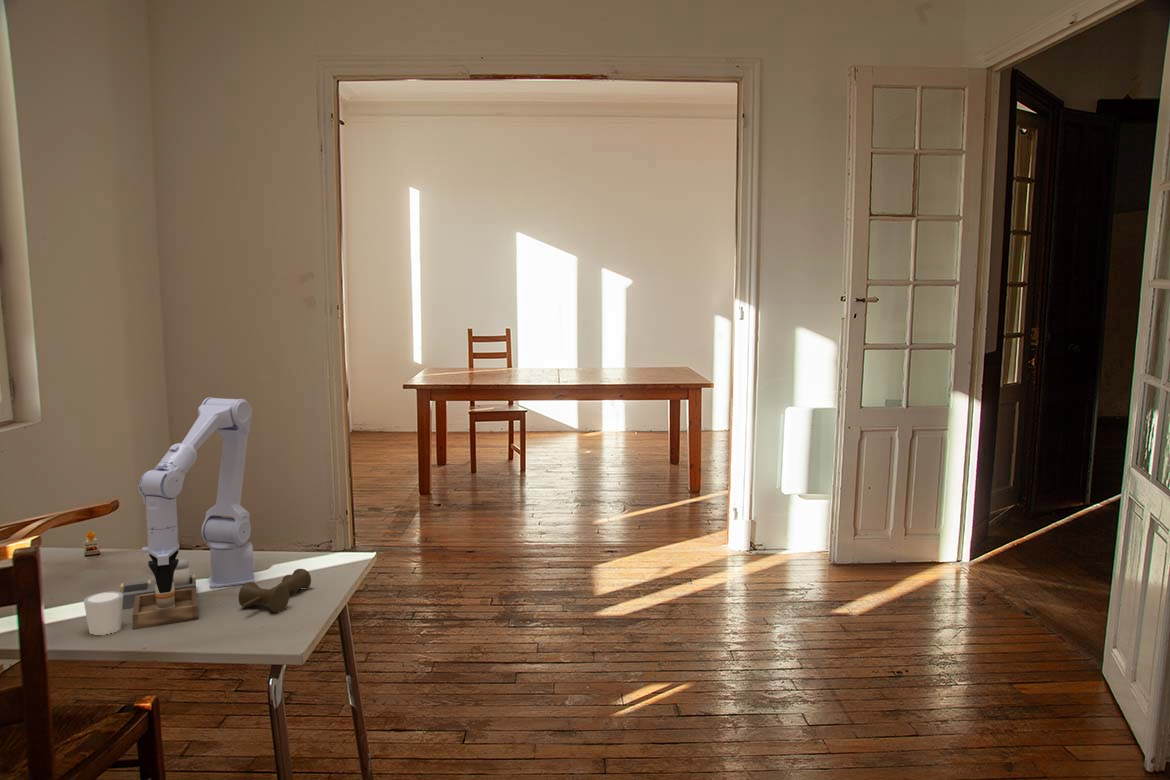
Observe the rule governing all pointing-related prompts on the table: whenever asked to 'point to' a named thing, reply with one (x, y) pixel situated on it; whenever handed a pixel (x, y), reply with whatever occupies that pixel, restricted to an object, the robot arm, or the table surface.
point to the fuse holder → (145, 590)
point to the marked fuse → (165, 598)
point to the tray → (181, 612)
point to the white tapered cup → (104, 612)
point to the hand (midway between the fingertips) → (165, 587)
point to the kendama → (274, 591)
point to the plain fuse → (182, 572)
